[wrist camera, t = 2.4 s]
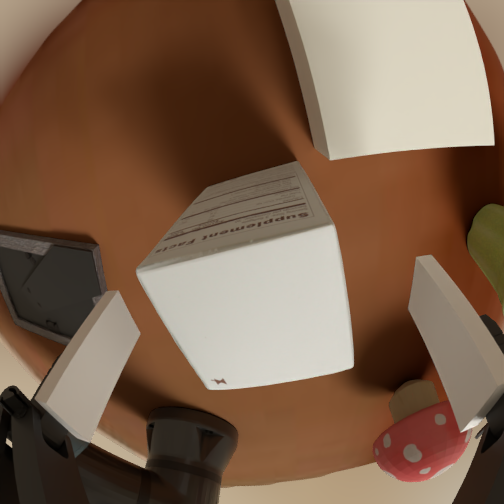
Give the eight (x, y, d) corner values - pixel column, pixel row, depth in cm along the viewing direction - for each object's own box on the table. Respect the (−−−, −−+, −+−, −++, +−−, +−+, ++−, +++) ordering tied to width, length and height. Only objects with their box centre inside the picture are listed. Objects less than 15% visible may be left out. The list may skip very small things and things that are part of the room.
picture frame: (101, 242, 24) (-11, 226, 24) (91, 252, 22) (-20, 232, 23) (126, 354, 32) (20, 318, 32) (121, 365, 30) (14, 326, 30)
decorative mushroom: (433, 396, 33) (458, 473, 20) (356, 416, 35) (369, 502, 21) (461, 340, 27) (505, 432, 14) (368, 363, 29) (395, 479, 15)
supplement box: (321, 246, 22) (357, 373, 11) (233, 266, 24) (204, 394, 13) (300, 157, 19) (341, 221, 8) (203, 183, 21) (127, 273, 9)
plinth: (313, 147, 19) (330, 160, 14) (274, 1, 14) (275, -35, 8) (449, 133, 17) (494, 145, 12) (417, 1, 12) (454, -20, 6)
